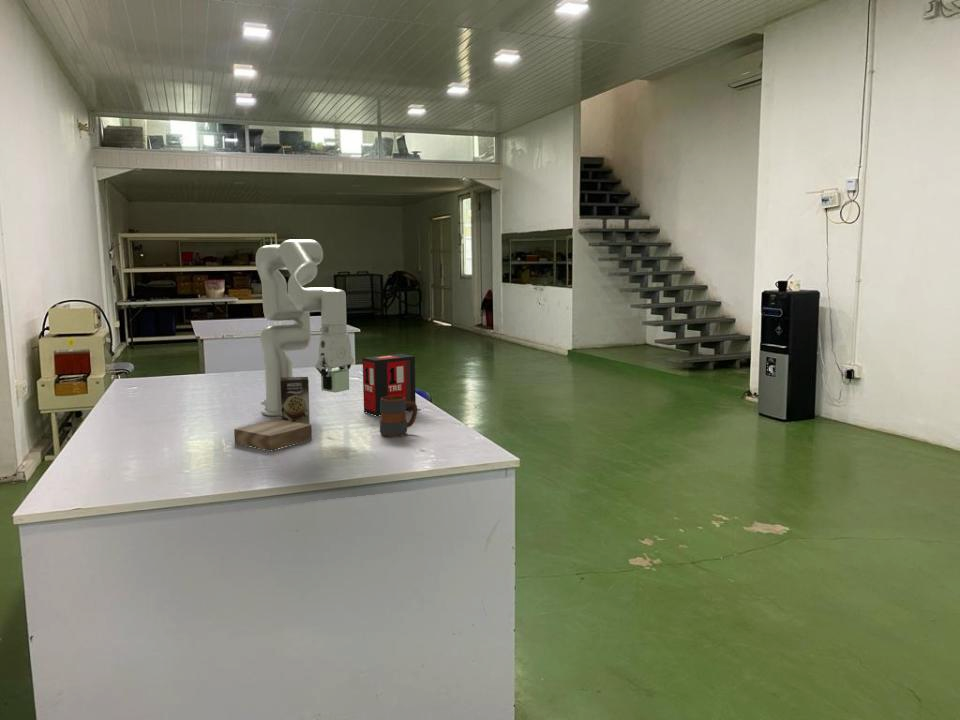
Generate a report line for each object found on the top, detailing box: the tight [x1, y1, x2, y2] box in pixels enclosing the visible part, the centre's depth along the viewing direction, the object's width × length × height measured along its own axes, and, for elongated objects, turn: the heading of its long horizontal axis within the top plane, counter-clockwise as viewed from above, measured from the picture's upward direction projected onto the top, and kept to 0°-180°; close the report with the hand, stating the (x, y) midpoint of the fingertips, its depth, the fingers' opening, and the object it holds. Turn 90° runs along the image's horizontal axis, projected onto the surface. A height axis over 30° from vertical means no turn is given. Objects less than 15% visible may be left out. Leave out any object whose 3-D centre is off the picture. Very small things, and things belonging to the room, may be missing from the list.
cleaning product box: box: [362, 353, 417, 417], centre depth 255 cm, size 16×9×20 cm, turn 129°
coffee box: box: [280, 376, 311, 425], centre depth 233 cm, size 9×6×16 cm
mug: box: [379, 396, 418, 437], centre depth 222 cm, size 9×12×12 cm
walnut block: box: [233, 418, 313, 452], centre depth 214 cm, size 16×16×5 cm
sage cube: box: [320, 368, 350, 394], centre depth 218 cm, size 6×6×6 cm
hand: (335, 386), depth 218 cm, fingers closed on sage cube, 6 cm apart
